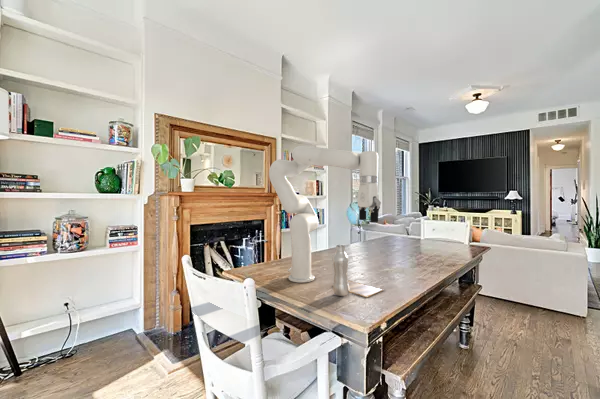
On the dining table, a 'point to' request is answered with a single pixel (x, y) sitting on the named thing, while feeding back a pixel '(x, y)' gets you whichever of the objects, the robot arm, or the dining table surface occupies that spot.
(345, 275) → the plastic bottle
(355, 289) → the cork mat
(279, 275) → the dining table surface
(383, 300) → the dining table surface
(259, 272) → the dining table surface
